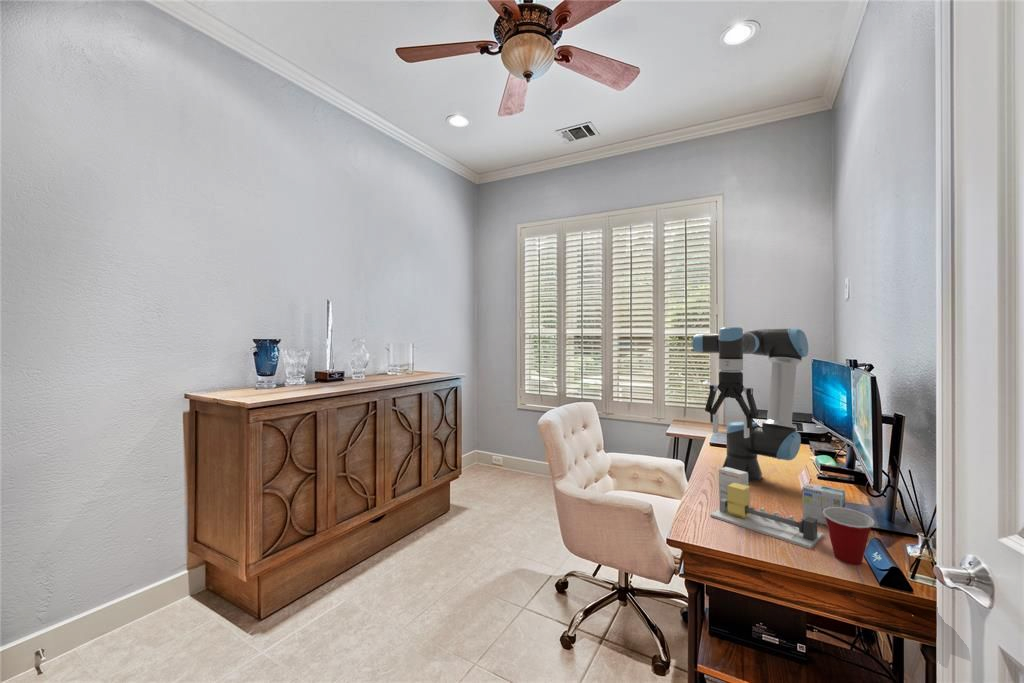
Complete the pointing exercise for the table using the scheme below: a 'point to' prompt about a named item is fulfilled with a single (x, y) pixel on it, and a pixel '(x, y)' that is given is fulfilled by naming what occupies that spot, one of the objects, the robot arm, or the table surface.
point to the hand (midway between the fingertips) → (730, 434)
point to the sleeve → (738, 499)
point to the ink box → (730, 480)
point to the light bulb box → (821, 501)
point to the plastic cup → (848, 533)
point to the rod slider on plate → (773, 525)
